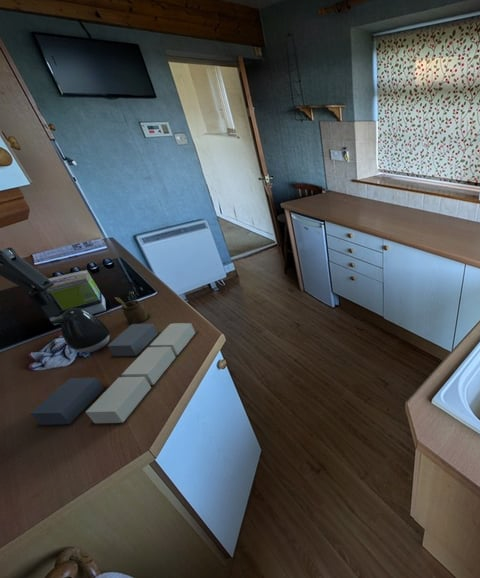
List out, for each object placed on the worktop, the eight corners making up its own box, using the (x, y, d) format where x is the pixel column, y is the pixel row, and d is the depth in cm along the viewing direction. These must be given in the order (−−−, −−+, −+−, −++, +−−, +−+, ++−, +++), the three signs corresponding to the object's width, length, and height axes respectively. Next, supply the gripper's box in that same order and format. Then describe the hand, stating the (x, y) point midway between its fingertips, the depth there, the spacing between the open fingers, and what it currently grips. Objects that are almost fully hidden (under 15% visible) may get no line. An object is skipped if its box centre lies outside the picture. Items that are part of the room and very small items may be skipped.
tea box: (106, 300, 121) (87, 268, 113) (106, 311, 114) (86, 278, 107) (55, 314, 112) (31, 280, 105) (53, 326, 106) (27, 292, 98)
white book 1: (94, 423, 73) (85, 412, 71) (126, 388, 83) (118, 377, 80) (123, 422, 73) (114, 411, 71) (151, 387, 83) (144, 376, 81)
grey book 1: (40, 424, 73) (29, 413, 71) (78, 389, 82) (70, 378, 80) (69, 424, 73) (59, 412, 71) (104, 388, 82) (96, 377, 80)
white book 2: (128, 385, 84) (121, 374, 81) (153, 357, 93) (147, 347, 91) (153, 384, 84) (147, 373, 81) (175, 357, 93) (170, 346, 91)
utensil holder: (152, 315, 112) (138, 288, 106) (138, 325, 107) (123, 297, 101) (137, 314, 113) (123, 287, 107) (123, 324, 107) (108, 296, 101)
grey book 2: (113, 356, 93) (107, 345, 91) (137, 334, 103) (132, 323, 100) (136, 355, 94) (130, 345, 91) (157, 333, 103) (152, 323, 101)
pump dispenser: (65, 354, 94) (37, 316, 86) (101, 334, 102) (77, 298, 95) (88, 361, 91) (60, 322, 84) (122, 340, 100) (100, 303, 92)
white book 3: (155, 355, 94) (149, 345, 91) (175, 333, 103) (170, 323, 101) (177, 355, 94) (172, 344, 92) (195, 333, 103) (191, 323, 101)
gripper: (-145, 234, 53) (-55, 326, 64) (-2, 233, 53) (63, 325, 64) (-89, 221, 59) (-16, 307, 70) (38, 220, 60) (91, 305, 71)
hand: (22, 315), depth 67 cm, fingers open, 13 cm apart
